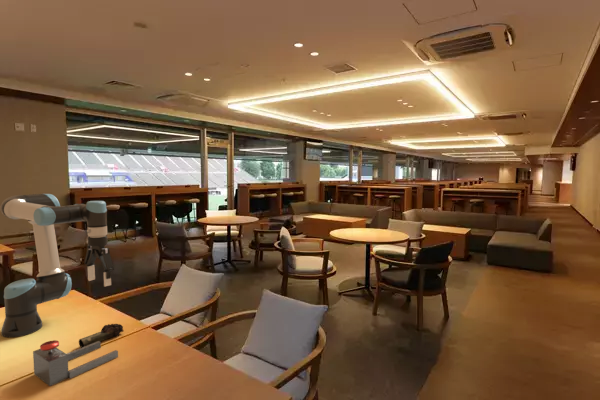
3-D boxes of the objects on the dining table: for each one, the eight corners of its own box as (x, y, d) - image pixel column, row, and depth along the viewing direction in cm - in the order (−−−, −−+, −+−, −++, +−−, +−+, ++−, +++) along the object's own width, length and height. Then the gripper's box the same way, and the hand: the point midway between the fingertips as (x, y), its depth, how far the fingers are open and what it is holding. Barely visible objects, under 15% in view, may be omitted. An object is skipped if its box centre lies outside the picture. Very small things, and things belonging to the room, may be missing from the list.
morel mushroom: (84, 351, 146) (83, 338, 145) (77, 346, 150) (76, 334, 149) (125, 334, 160) (124, 323, 160) (117, 330, 164) (117, 319, 164)
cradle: (33, 373, 129) (31, 341, 128) (98, 346, 149) (97, 318, 148) (51, 387, 121) (49, 353, 120) (118, 356, 141) (117, 327, 140)
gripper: (74, 234, 155) (76, 279, 156) (104, 240, 141) (105, 290, 143) (91, 231, 161) (93, 275, 163) (121, 237, 148) (123, 285, 149)
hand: (99, 282), depth 153 cm, fingers open, 13 cm apart
